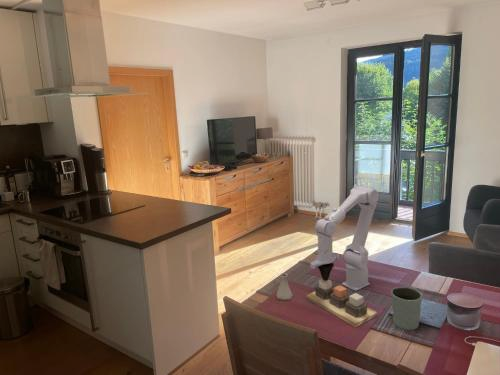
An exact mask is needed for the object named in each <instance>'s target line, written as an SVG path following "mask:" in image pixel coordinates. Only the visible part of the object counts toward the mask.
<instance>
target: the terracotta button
mask: <svg viewBox="0 0 500 375" xmlns="http://www.w3.org/2000/svg"><path fill="white" fill-rule="evenodd" d="M334 287H335V288H333V295H335V296H336V297H338V298H340V299H341V298H343V297H345V296H347V294H348V293H347V290H348V287H346V286H342V285H340V284H339V285H337V286H334Z"/></svg>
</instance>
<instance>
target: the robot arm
mask: <svg viewBox="0 0 500 375" xmlns="http://www.w3.org/2000/svg"><path fill="white" fill-rule="evenodd" d="M349 192H350V193H349V195H348V197H347V198H346V199H345V200H344V202H342V203H341V205H340V206H339V207H337V206H336V207H335V206H334V207H332V209H331V211H330V212H329V213H327V215H326V216H324V217H323V218H319V219H318V220H317V221H316V222H315V226H314V230H315V233H316V236H317V256H316V258H315V259H314V261H312V262H310V264H309V265H310V269H313V270H315V269H316V268H318V270H319V273H320V276H321V278H322V279H323V280H325V281H327V280H330V275H331V271H332V270H333V268H334V267H335V264H334V263H333V262H334V261H335V260H340V254H338V253H333V235H335V233H336V230H337V228H338V225H340V223H342V221H343V220H345V218H346V213H347V212H349V211H350V210H352V208H354V207H355V206H356V205H358V206H359V207H360V211H359V217H358V220H357V224H356V227H355V231H354V235H353V238H352V242H351V243H350V244H348V245H346V247H345V250H344V251H343V253H342V254H341V255H342V261H343V262H344V265H345V266H346V268H345V269H346V270H345V277H346V278H345V281H344V282H342V283H341V286H342V285H343V287H345V288H349V289H350V290H353V291H355V292H357V291H358V290H359V291H360V289H363V288H366V286H367V287H368V286H369V285H370V282H369V269H368V266H367V265H368V263H369V252H368V250H367V249H366V241H367V238H368V234H369V231H370V228H371V224H372V220H373V216H374V213H375V209H376V208H377V205H378V201H379V197H380V195H379V192H378V190H377V189H376V188H371V187H368V186H361V185H358V184H357V185H354V186H353V187H352V189H350V191H349ZM322 279H321V280H322Z"/></svg>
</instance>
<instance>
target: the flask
mask: <svg viewBox="0 0 500 375" xmlns="http://www.w3.org/2000/svg"><path fill="white" fill-rule="evenodd" d="M288 277H289V275H288V273H285V272H283V273H280V283H279V286H278V289H277V291H276V295H275V296H276V299H277V300H281V301H290V300H292V298H294V296H293V293H292V291H291V288H290V285H289V282H288Z"/></svg>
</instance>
